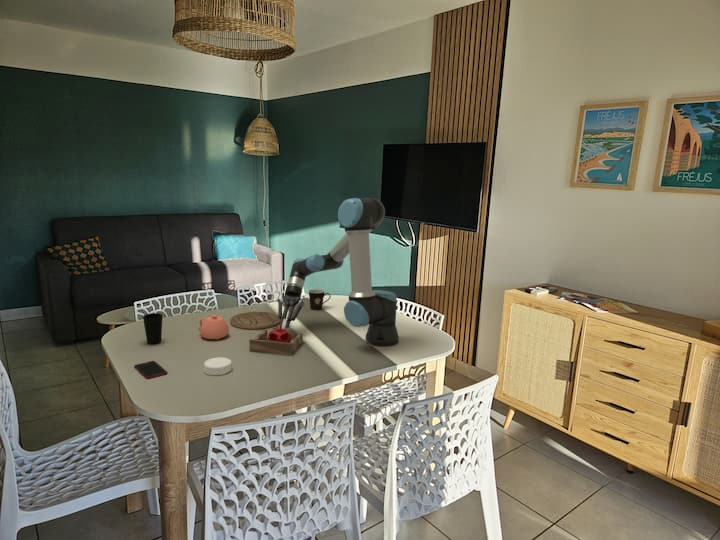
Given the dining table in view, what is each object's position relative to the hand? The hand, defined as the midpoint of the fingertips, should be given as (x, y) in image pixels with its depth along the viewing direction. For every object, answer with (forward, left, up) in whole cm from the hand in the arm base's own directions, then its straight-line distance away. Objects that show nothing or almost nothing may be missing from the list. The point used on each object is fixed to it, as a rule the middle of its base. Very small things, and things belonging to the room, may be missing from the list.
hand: (282, 333), depth 212 cm
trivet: (+31, 0, -4) cm, 32 cm away
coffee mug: (+36, -39, -4) cm, 54 cm away
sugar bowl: (+20, +25, -4) cm, 32 cm away
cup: (+25, +49, -4) cm, 55 cm away
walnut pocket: (-5, +5, -4) cm, 8 cm away
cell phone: (-5, +56, -4) cm, 56 cm away
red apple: (-5, +4, -4) cm, 7 cm away
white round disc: (-17, +35, -4) cm, 39 cm away
